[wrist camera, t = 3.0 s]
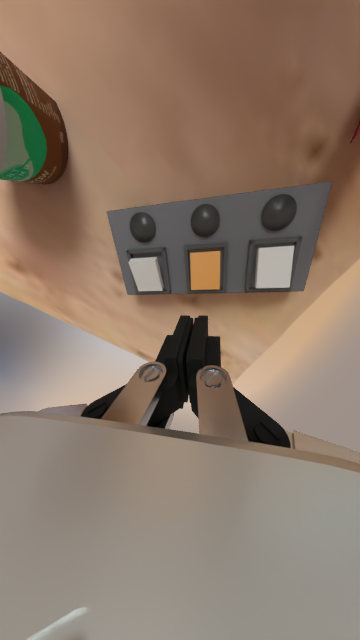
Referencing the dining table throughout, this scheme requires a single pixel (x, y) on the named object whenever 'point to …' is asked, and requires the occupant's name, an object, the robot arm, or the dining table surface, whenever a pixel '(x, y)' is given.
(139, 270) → the rocker
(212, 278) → the middle rocker
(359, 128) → the decorative bird figurine
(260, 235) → the rocker switch panel
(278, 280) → the rocker
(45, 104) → the food container
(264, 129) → the dining table surface
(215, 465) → the robot arm
